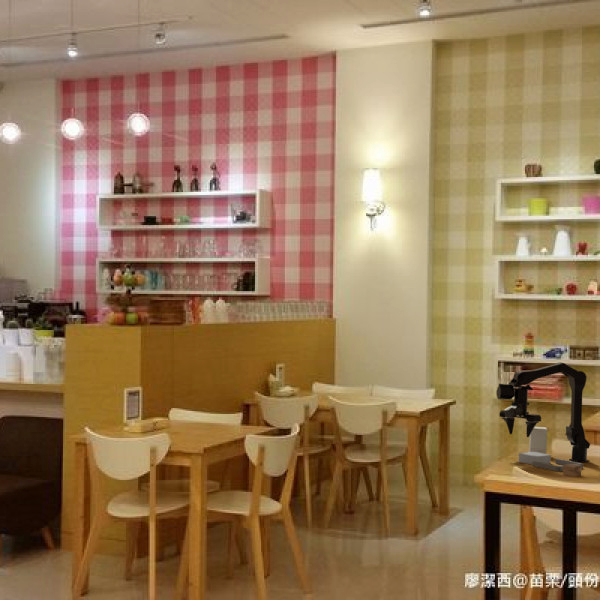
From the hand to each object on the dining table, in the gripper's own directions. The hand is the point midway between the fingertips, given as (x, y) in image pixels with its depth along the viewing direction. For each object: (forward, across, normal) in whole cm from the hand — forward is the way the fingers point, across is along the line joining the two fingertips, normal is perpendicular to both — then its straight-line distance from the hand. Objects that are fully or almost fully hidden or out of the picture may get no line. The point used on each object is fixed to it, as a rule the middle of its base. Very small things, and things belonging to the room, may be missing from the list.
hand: (519, 435), depth 397 cm
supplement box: (+11, -3, +18) cm, 21 cm away
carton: (+11, +8, +1) cm, 14 cm away
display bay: (+10, +20, 0) cm, 22 cm away
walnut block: (+11, +34, -9) cm, 37 cm away
